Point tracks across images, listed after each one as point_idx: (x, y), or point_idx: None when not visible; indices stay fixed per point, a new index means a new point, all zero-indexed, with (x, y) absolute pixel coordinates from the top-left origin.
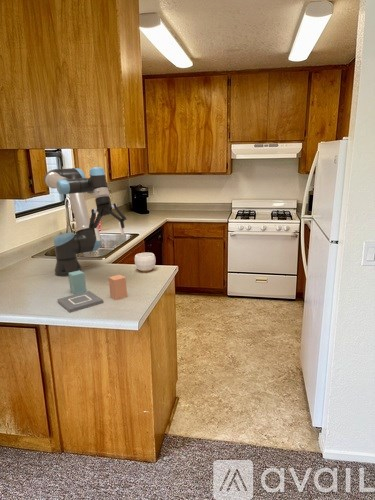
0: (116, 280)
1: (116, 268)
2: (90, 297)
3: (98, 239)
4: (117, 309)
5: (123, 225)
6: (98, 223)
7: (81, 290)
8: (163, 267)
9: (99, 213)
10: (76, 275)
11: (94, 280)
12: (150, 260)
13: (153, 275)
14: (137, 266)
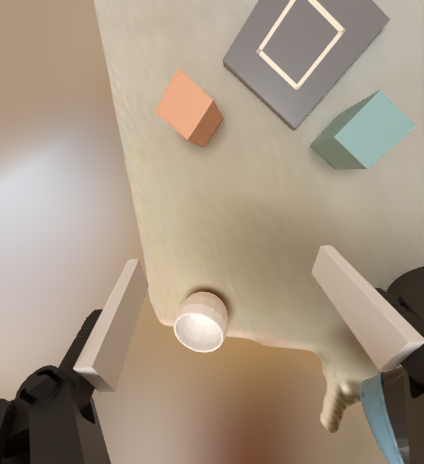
0: (174, 77)
1: (284, 319)
2: (269, 69)
3: (322, 255)
4: (167, 25)
5: (82, 332)
6: (409, 443)
7: (324, 131)
8: None
9: None
10: (362, 106)
11: (315, 235)
12: (179, 309)
13: (178, 272)
14: (216, 299)
